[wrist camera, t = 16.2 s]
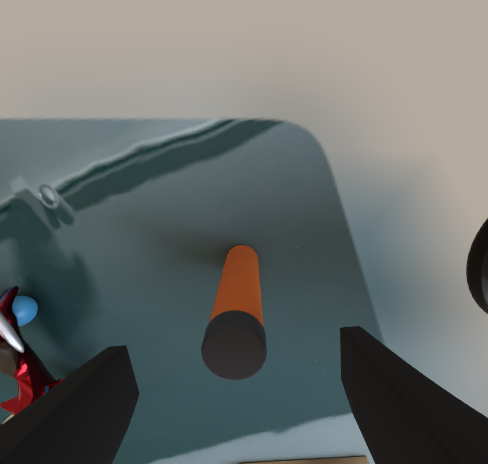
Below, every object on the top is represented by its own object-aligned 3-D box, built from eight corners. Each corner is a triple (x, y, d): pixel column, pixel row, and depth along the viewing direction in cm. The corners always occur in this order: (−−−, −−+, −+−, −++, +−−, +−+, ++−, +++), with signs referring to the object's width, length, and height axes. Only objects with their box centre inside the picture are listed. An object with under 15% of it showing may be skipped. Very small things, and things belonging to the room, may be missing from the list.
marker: (257, 242, 17) (263, 322, 8) (260, 273, 18) (269, 378, 9) (223, 245, 17) (196, 328, 9) (227, 276, 18) (206, 383, 9)
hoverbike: (82, 413, 21) (25, 497, 16) (-11, 297, 19) (-117, 351, 13) (133, 393, 21) (91, 475, 15) (45, 270, 18) (-44, 316, 13)
